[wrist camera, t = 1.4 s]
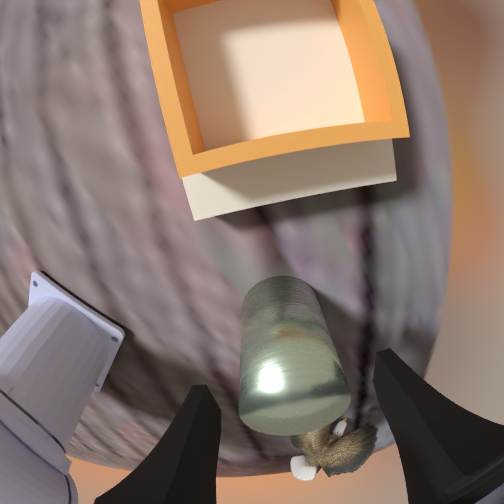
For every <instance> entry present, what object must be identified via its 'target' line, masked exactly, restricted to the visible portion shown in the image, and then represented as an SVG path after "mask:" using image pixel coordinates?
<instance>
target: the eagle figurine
mask: <svg viewBox="0 0 504 504" xmlns="http://www.w3.org/2000/svg"><path fill="white" fill-rule="evenodd" d="M346 420H347V417H345V418H344V419H343V420H342V421H340V422H339V423H338V424H337V425H336V427H335V428H334V429H333V430H332V431H331V432H330V428H331V424H332V423H330V424H329V425H327V426H325V427H322V428H320V429H318V430H315V431H312V432H308V433H304V434H298V435H291V436H292V437H290V440H291V442H292V443H293V445H294V446H295V447H296V448H298V449H299V450H300V451H302V452H303V454H305V455H300V456H295V457H293V458H292V459H291V462H290V463H291V472H292V473H293V476H294V477H296V478H297V479H299V480H303V481H311V480H313V479H314V478H315V475H316V473H318V471H319V470H320V469H321V468H323V470H324V472H325V473H326V474H327V475H328V477H330V476H331V475H335V474H337V475H339V474H341V473H347V472H354V471H356V470H358V468H360V467H361V465H363V464H364V463H365V461H366V460H367V459H368V458H369V456H371V455H372V453H373V452H372V451H373V449H374V448H375V442H376V440H377V437H376V434H377V431H378V428H375V425H372V426H371V423H367V424H365V425H363V426H362V427H360V428H358V429H356V430H354V431H352V432H349V433H347V434H346V435H344V436H343V437H342V435H343V433H344V430H345V428H346V426H347V423H346ZM341 437H342V438H341Z"/></svg>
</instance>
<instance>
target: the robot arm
mask: <svg viewBox="0 0 504 504" xmlns="http://www.w3.org/2000/svg"><path fill="white" fill-rule="evenodd" d="M115 337H116V338H115ZM124 337H125V332H124V330H123V329H122V328H121V327H119V326H117V325H116V324H114V323H112V322H111V321H109V320H108V319H106V318H104V317H103V316H101V315H100V314H98V313H97V312H95V311H94V310H92V309H91V308H89V307H88V306H86V305H85V304H83V303H82V302H80V301H79V300H77V299H76V298H75V297H73V296H72V295H70V294H69V293H68V292H66V291H65V290H63V289H62V288H61V287H59V286H58V285H57V284H55V283H54V282H53V281H51V280H50V279H49V278H48V277H46V276H45V275H44V274H42V273H41V272H40V271H38V270H35V271H34V272H33V273H32V275H31V284H30V293H29V305H28V309H27V310H26V311H25V312H24V313H23V314H22V315H21V316H20V317H19V318H18V319H17V320H16V321H15V323H14V324H13V325H12V326H11V327H10V328H9V329H8V330H7V332H6V333H5V334H4V335H3V336H2V337H1V339H0V504H78V493H77V489H76V486H75V483H74V481H73V479H72V477H71V476H70V474H69V473H68V471H69V468H70V465H71V461H70V460H69V459H68V458H67V457H66V456H65V453H66V451H67V448H68V445H69V443H70V441H71V438H72V436H73V433H74V431H75V429H76V426H77V424H78V422H79V419H80V417H81V415H82V413H83V410H84V408H85V406H86V404H87V402H88V399H89V397H90V395H91V393H92V391H93V392H95V393H99V392H100V390H101V388H102V385H103V383H104V381H105V378H106V376H107V374H108V371H109V369H110V367H111V365H112V362H113V360H114V358H115V356H116V354H117V352H118V349H119V347H120V345H121V343H122V341H123V339H124ZM373 383H374V387H375V390H376V394H377V397H378V400H379V403H380V405H381V408H382V410H383V412H384V415H385V417H386V419H387V422H388V424H389V426H390V429H391V431H392V433H393V436H394V438H395V441H396V444H397V446H398V450H399V454H400V458H401V462H402V467H403V471H404V475H405V481H406V487H407V493H408V502H409V504H504V425H501V424H497V423H494V422H492V421H489V420H487V419H484V418H482V417H480V416H478V415H476V414H473V413H472V412H470V411H468V410H466V409H464V408H462V407H460V406H459V405H457V404H455V403H454V402H452V401H451V400H449V399H448V398H446V397H445V396H443V395H442V394H441V393H439V392H438V391H437V390H436V389H434V388H433V387H432V386H430V385H429V384H428V383H427V382H426V381H424V380H423V379H422V378H421V377H420V376H419V375H418V374H416V373H415V372H414V371H413V370H412V369H411V368H410V367H409V366H408V365H407V364H406V363H405V362H404V361H403V360H402V359H401V358H400V357H399V356H398V355H397V354H396V353H395V352H394V351H393V350H392V349H390V348H389V349H386V350H383V351H379V352H376V361H375V370H374V377H373ZM220 435H221V409H220V408H219V406H218V404H217V403H216V401H215V399H214V397H213V396H212V394H211V392H210V390H209V389H208V387H207V385H194V386H192V388H191V389H190V391H189V393H188V395H187V397H186V399H185V400H184V402H183V404H182V406H181V408H180V409H179V411H178V413H177V415H176V416H175V418H174V419H173V421H172V423H171V424H170V426H169V428H168V429H167V431H166V432H165V433H164V435H163V436H162V438H161V439H160V441H159V442H158V443H157V445H156V446H155V447H154V449H153V450H152V451H151V452H150V453H149V455H148V456H147V457H146V458H145V459H144V460H143V461H142V462H141V463H140V464H139V466H138V467H137V468H136V469H135V470H134V471H132V472H131V473H130V474H129V475H128V476H127V477H126V478H124V479H123V480H122V481H121V482H120V483H118V484H117V485H116V486H114V487H113V488H112V489H110V490H109V491H107V492H105V493H104V494H102V495H101V496H99V497H98V498H96V499H95V501H94V504H216V469H217V461H218V452H219V444H220Z"/></svg>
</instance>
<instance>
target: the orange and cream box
mask: <svg viewBox="0 0 504 504" xmlns="http://www.w3.org/2000/svg"><path fill="white" fill-rule="evenodd" d="M140 5H141V11H142V17H143V23H144V28H145V34H146V39H147V44H148V49H149V54H150V59H151V64H152V69H153V73H154V78H155V83H156V87H157V91H158V96H159V100H160V104H161V109H162V113H163V117H164V121H165V125H166V129H167V133H168V137H169V141H170V145H171V148H172V152H173V156H174V160H175V163H176V167H177V171H178V174H179V178H182V179H183V183H184V187H185V190H186V194H187V197H188V201H189V204H190V207H191V211H192V214H193V218H194V221H196V220H201V219H205V218H209V217H213V216H217V215H222V214H226V213H230V212H235V211H239V210H243V209H248V208H252V207H257V206H262V205H266V204H271V203H276V202H281V201H286V200H290V199H295V198H300V197H306V196H311V195H316V194H321V193H326V192H332V191H337V190H343V189H349V188H354V187H360V186H366V185H372V184H378V183H385V182H391V181H397V178H396V168H395V159H394V151H393V144H392V138H404V137H410V134H409V127H408V121H407V115H406V110H405V105H404V100H403V95H402V90H401V86H400V81H399V77H398V73H397V69H396V66H395V62H394V58H393V55H392V51H391V48H390V45H389V42H388V39H387V36H386V33H385V30H384V27H383V24H382V21H381V19H380V16H379V13H378V11H377V8H376V6H375V3H374V1H373V0H140Z"/></svg>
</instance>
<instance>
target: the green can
mask: <svg viewBox="0 0 504 504" xmlns="http://www.w3.org/2000/svg"><path fill="white" fill-rule="evenodd" d="M350 402H351V393H350V390H349V387H348V384H347V381H346V378H345V375H344V372H343V369H342V366H341V363H340V360H339V357H338V354H337V351H336V348H335V346H334V343H333V340H332V337H331V334H330V332H329V329H328V326H327V323H326V321H325V318H324V315H323V313H322V310H321V307H320V305H319V302H318V299H317V297H316V294H315V292H314V291H313V289H312V288H311V287H310V286H309V285H308V284H307V283H305V282H304V281H302V280H300V279H297V278H294V277H289V276H277V277H272V278H268V279H265V280H263V281H261V282H259V283H258V284H256V285H255V286H254V287H252V288H251V290H250V291H249V292H248V293H247V295H246V296H245V298H244V301H243V305H242V323H241V352H240V383H239V416H240V419H241V420H242V422H243V423H244V424H245V425H247V426H248V427H249V428H251V429H253V430H255V431H258V432H261V433H265V434H269V435H279V436H288V435H298V434H304V433H308V432H312V431H315V430H318V429H320V428H322V427H325V426H327V425H329V424H330V423H332V422H334V421H335V420H336V419H338V418H339V417H340V416H341V415H342V414H343V413H344V412H345V411H346V410H347V408H348V407H349V404H350Z"/></svg>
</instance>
